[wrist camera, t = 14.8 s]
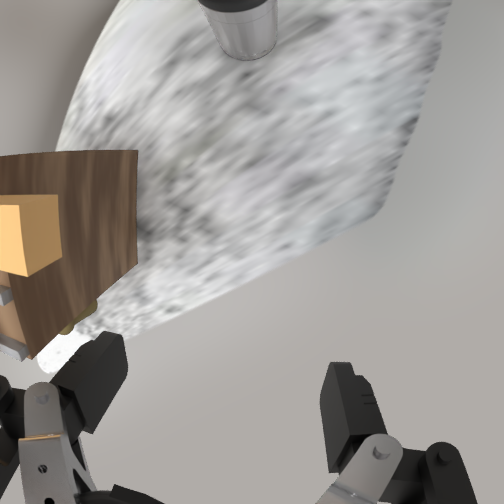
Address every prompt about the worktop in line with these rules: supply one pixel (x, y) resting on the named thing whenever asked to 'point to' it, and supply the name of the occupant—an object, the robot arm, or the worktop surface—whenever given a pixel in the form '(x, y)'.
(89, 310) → the cork
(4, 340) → the walnut stand
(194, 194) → the worktop surface
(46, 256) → the wooden bar
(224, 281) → the worktop surface
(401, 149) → the worktop surface
